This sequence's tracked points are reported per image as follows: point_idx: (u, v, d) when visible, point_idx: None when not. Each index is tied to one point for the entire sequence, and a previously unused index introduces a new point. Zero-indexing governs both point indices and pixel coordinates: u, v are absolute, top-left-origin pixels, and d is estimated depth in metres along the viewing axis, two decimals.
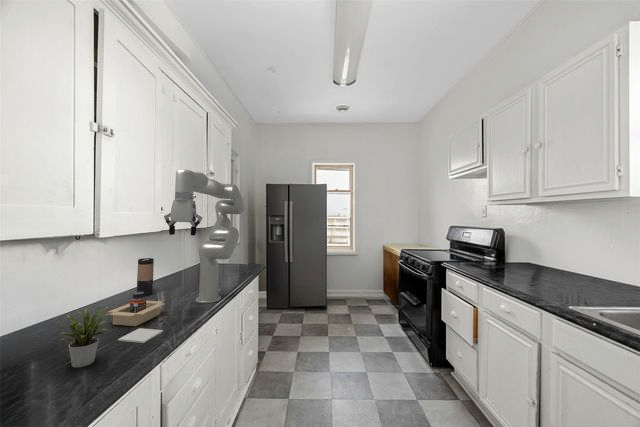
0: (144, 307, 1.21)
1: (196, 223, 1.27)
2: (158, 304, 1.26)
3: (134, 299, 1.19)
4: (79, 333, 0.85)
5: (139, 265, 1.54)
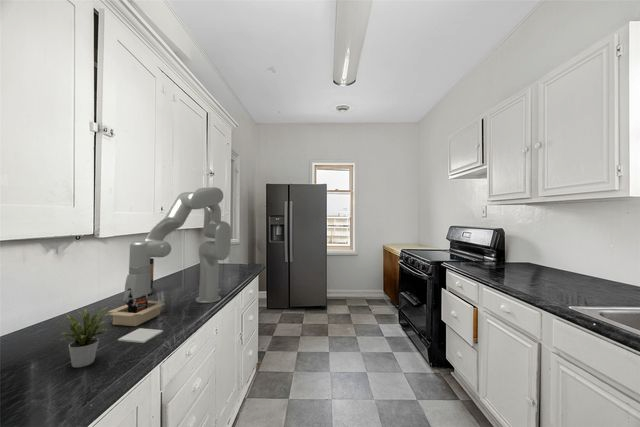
0: (144, 307, 1.21)
1: (148, 296, 1.27)
2: (158, 304, 1.26)
3: None
4: (79, 333, 0.85)
5: None
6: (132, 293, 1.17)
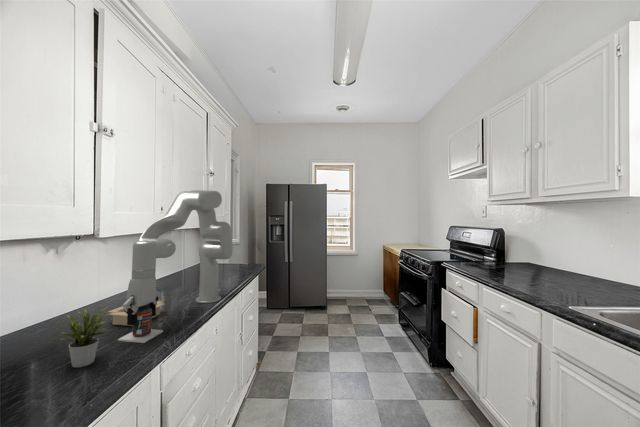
0: (150, 320, 1.05)
1: (156, 300, 1.12)
2: (158, 304, 1.26)
3: (138, 311, 1.03)
4: (79, 333, 0.85)
5: None
6: (135, 301, 1.00)
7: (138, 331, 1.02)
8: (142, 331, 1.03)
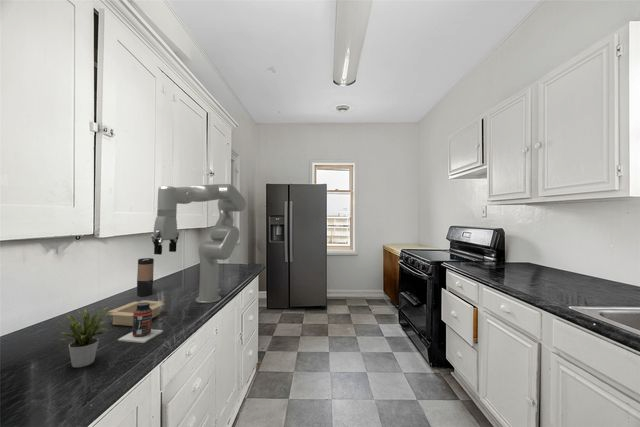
0: (150, 320, 1.05)
1: (177, 239, 1.31)
2: (158, 304, 1.26)
3: (138, 311, 1.03)
4: (79, 333, 0.85)
5: (139, 265, 1.54)
6: (161, 234, 1.20)
7: (138, 331, 1.02)
8: (142, 331, 1.03)
